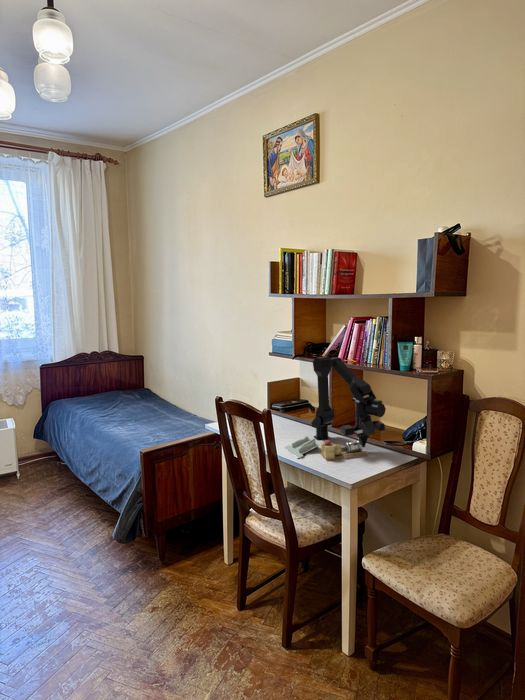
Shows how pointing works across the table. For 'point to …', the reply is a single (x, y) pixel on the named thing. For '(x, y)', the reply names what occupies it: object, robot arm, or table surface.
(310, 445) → the metal bracket
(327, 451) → the wooden channel tray
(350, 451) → the cylinder
